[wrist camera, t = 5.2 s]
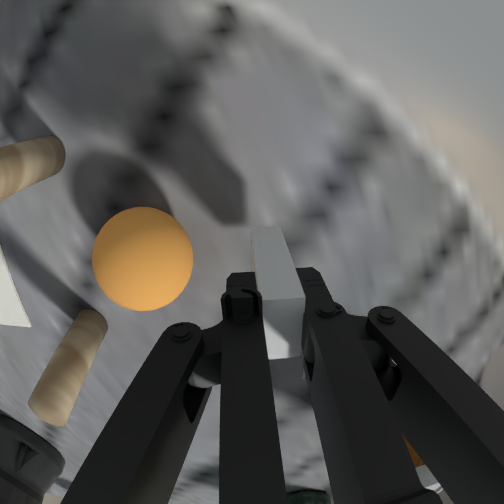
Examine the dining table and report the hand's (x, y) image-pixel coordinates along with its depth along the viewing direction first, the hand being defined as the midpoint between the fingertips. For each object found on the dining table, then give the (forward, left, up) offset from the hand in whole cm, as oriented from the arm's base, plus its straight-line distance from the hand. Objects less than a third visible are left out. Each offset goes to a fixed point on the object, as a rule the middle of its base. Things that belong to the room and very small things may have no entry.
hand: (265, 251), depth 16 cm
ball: (-7, 0, 0) cm, 7 cm away
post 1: (-13, +6, -2) cm, 15 cm away
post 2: (-13, -6, -2) cm, 15 cm away
